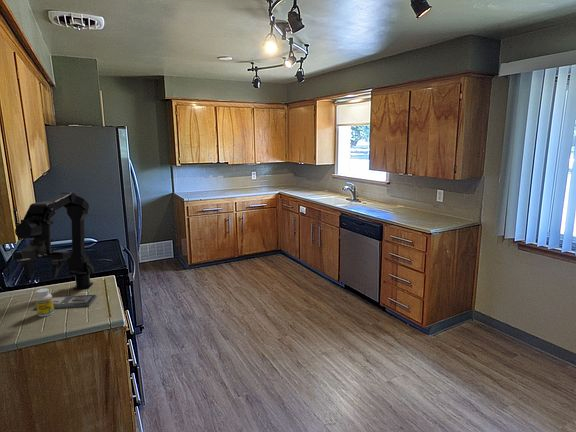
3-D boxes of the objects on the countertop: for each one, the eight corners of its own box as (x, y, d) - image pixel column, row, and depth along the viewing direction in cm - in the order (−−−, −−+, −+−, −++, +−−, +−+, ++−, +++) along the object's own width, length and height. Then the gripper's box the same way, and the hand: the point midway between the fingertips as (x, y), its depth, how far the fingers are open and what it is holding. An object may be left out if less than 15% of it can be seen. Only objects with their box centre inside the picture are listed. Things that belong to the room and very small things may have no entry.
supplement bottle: (53, 309, 149) (50, 286, 147) (54, 314, 145) (51, 291, 143) (37, 312, 146) (34, 289, 144) (37, 318, 142) (34, 294, 140)
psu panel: (45, 300, 158) (45, 296, 157) (96, 297, 160) (96, 294, 160) (34, 309, 149) (34, 306, 149) (88, 306, 152) (88, 303, 151)
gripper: (0, 238, 134) (1, 282, 135) (53, 238, 134) (53, 282, 134) (22, 236, 145) (23, 276, 146) (71, 236, 145) (71, 276, 146)
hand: (42, 278), depth 143 cm, fingers open, 9 cm apart
